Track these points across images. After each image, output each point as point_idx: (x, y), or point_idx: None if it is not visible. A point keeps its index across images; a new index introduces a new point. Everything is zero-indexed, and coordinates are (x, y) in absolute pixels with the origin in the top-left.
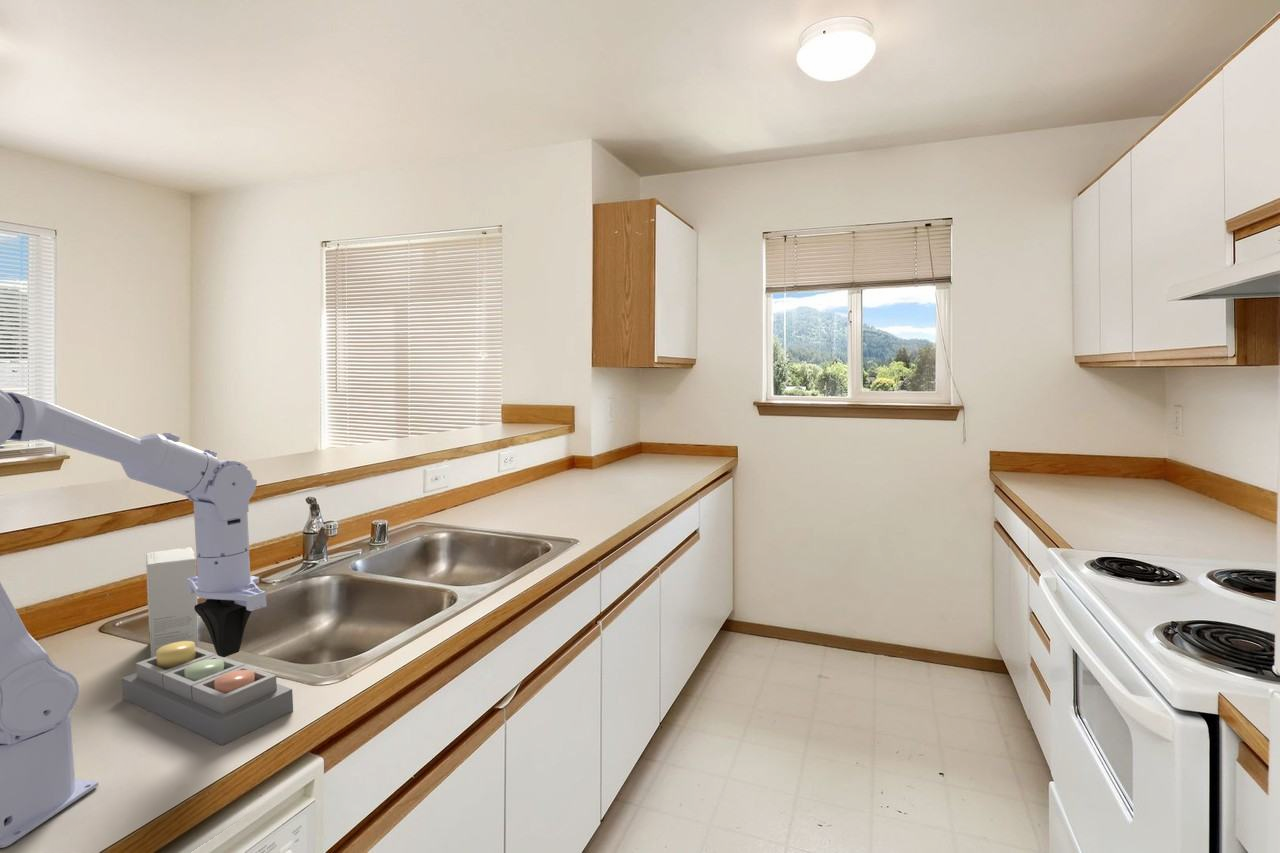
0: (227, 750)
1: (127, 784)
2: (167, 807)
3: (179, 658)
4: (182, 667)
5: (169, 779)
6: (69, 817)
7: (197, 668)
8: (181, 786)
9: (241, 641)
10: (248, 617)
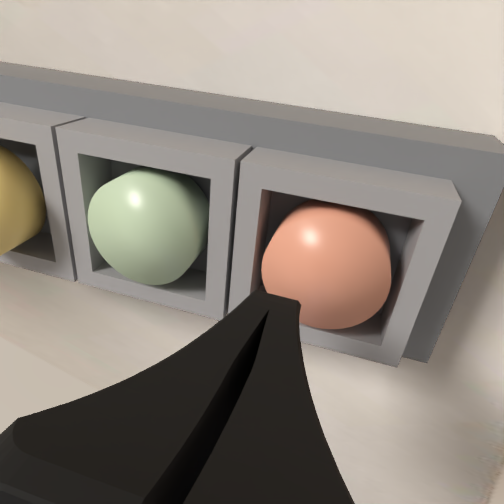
0: (452, 332)
1: (349, 428)
2: (490, 470)
3: (25, 225)
4: (75, 238)
5: (414, 415)
6: (345, 483)
7: (137, 253)
8: (461, 429)
9: (296, 322)
10: (326, 441)
